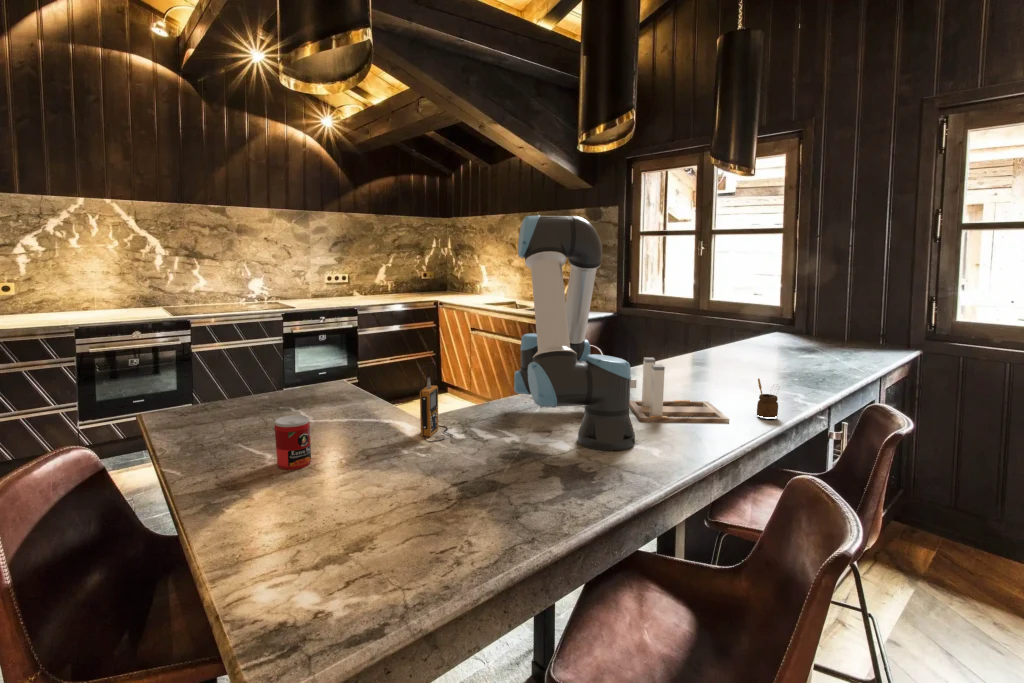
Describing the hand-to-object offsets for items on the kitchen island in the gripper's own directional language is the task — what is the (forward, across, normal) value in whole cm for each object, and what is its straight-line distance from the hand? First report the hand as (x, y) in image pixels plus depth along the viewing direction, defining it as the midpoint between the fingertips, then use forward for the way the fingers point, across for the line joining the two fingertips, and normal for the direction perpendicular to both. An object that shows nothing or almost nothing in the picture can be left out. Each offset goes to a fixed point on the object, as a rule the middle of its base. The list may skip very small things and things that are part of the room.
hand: (635, 383), depth 184 cm
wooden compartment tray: (+11, +7, -9) cm, 16 cm away
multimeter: (-59, +26, -9) cm, 65 cm away
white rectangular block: (+4, +13, -8) cm, 15 cm away
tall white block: (+4, +1, -8) cm, 9 cm away
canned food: (-91, +50, -9) cm, 104 cm away
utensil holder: (+39, +7, -9) cm, 41 cm away
